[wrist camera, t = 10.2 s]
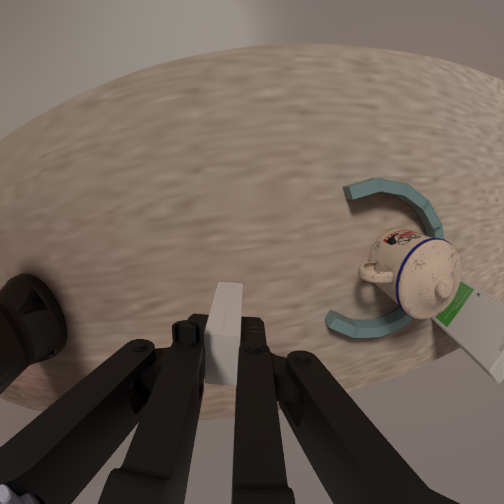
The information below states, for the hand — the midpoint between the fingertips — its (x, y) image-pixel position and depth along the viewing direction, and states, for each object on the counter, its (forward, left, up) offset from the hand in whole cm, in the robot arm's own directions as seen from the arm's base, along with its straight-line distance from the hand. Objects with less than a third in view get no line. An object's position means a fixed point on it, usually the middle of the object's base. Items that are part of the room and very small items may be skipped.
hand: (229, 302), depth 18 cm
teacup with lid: (+19, 0, -16) cm, 25 cm away
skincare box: (+34, -7, -16) cm, 38 cm away
